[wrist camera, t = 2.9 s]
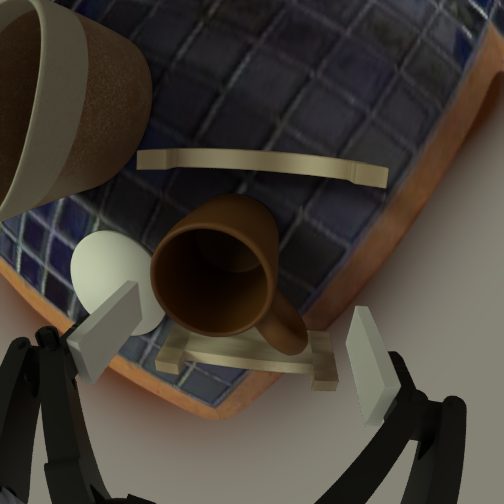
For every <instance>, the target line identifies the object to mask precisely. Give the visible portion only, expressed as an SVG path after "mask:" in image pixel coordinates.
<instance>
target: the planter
mask: <svg viewBox="0 0 504 504" xmlns="http://www.w3.org/2000/svg"><path fill="white" fill-rule="evenodd" d="M151 105H152V79H151V74H150V70H149V66H148V64H147V61H146V59H145V57H144V55H143V54H142V52H141V51H140V49H139V48H138V47H137V46H136V45H135V44H134V43H133V42H131V41H130V40H128V39H127V38H125V37H123V36H121V35H120V34H118V33H116V32H114V31H112V30H110V29H109V28H107V27H105V26H103V25H101V24H99V23H97V22H95V21H93V20H91V19H89V18H87V17H85V16H83V15H81V14H79V13H76V12H74V11H72V10H70V9H68V8H65V7H63V6H61V5H59V4H56V3H54V2H51V1H49V0H1V1H0V222H1V221H4V220H6V219H8V218H11V217H13V216H16V215H18V214H21V213H23V212H26V211H28V210H31V209H34V208H36V207H39V206H42V205H44V204H47V203H50V202H53V201H55V200H58V199H61V198H64V197H67V196H70V195H73V194H76V193H79V192H82V191H85V190H88V189H92V188H95V187H97V186H99V185H101V184H103V183H105V182H107V181H108V180H110V179H111V178H112V177H114V176H115V175H116V174H117V173H118V172H119V171H120V170H121V169H122V168H123V167H124V166H125V165H126V164H127V162H128V161H129V160H130V158H131V157H132V156H133V154H134V152H135V151H136V149H137V147H138V145H139V144H140V141H141V139H142V137H143V135H144V132H145V130H146V127H147V123H148V120H149V116H150V111H151Z"/></svg>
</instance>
